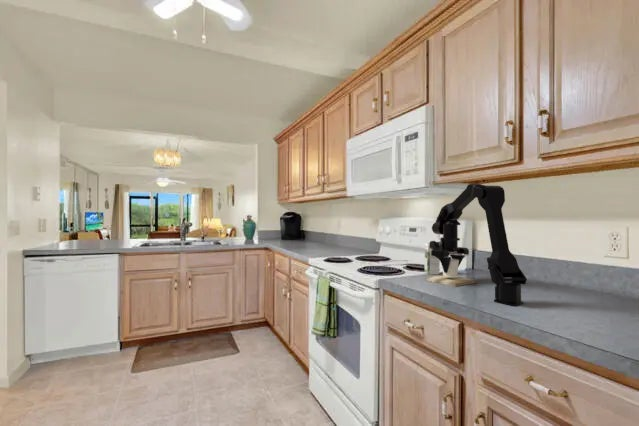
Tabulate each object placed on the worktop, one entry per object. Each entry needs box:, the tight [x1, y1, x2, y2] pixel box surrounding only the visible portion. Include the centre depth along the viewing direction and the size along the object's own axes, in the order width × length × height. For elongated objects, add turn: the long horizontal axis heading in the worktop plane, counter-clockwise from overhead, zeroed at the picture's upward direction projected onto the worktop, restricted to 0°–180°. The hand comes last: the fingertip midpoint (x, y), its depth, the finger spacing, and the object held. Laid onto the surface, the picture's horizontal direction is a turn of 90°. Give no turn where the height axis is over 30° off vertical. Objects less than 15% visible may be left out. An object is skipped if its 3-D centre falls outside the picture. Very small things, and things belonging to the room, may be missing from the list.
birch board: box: [425, 274, 476, 288], centre depth 135 cm, size 14×14×1 cm
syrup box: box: [424, 242, 441, 275], centre depth 153 cm, size 6×6×14 cm
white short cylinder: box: [442, 257, 459, 277], centre depth 135 cm, size 7×7×7 cm
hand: (450, 271), depth 135 cm, fingers closed on white short cylinder, 6 cm apart
